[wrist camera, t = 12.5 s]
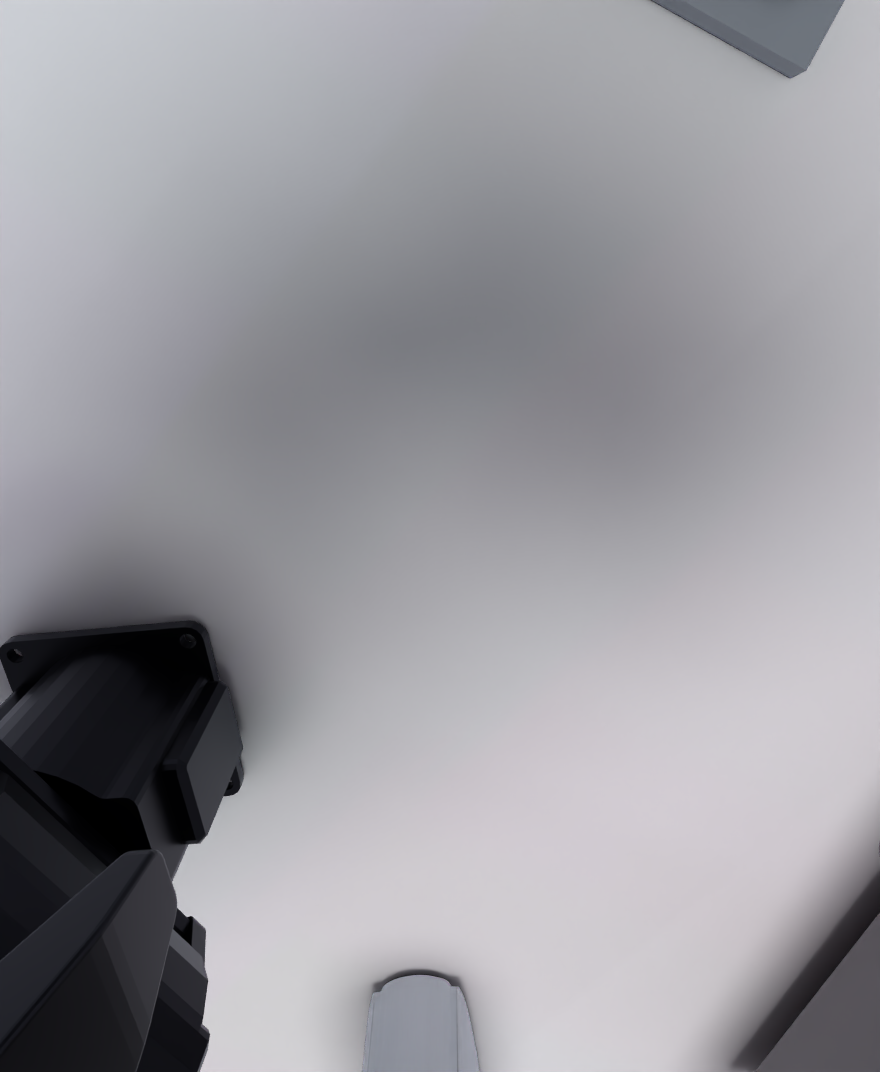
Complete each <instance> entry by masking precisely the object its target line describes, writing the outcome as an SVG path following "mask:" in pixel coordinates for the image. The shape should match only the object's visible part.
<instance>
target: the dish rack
mask: <svg viewBox="0 0 880 1072" xmlns="http://www.w3.org/2000/svg"><path fill="white" fill-rule="evenodd" d="M652 1H654V2H656V3H657V4H659V5H661V6H663V7H665V8H666V9H668V10H670V11H672V12H673V13H675V14H677V15H679V16H681V17H682V18H684V19H686V20H688V21H689V22H691V23H693V24H695V25H697V26H698V27H700V28H702V29H704V30H705V31H707V32H709V33H711V34H713V35H714V36H716V37H718V38H720V39H722V40H723V41H725V42H727V43H729V44H730V45H732V46H734V47H736V48H738V49H739V50H741V51H743V52H745V53H746V54H748V55H750V56H752V57H754V58H755V59H757V60H759V61H761V62H762V63H764V64H766V65H768V66H770V67H771V68H773V69H775V70H777V71H779V72H780V73H782V74H784V75H786V76H787V77H789V78H792V77H794V76H796V75H798V74H800V73H802V72H804V71H806V70H807V68H808V66H809V65H810V63H811V61H812V59H813V57H814V55H815V54H816V52H817V50H818V48H819V46H820V44H821V43H822V41H823V39H824V37H825V35H826V33H827V32H828V30H829V28H830V26H831V24H832V22H833V21H834V19H835V17H836V15H837V13H838V11H839V10H840V8H841V6H842V4H843V2H844V0H652Z"/></svg>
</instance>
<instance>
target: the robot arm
mask: <svg viewBox="0 0 880 1072" xmlns="http://www.w3.org/2000/svg"><path fill="white" fill-rule="evenodd" d="M184 634H190V635H192V636H193V637H194V638H195V640H196V642H190V641H188V640H187V639H186V638H185V636H184ZM14 649H17V650H18V651H20V652H21V653H22V654H23V656H20V655H18V654H17V653H16V652H15V650H14ZM0 660H1V662H2V665H3V668H4V670H5V673H6V675H7V678H8V681H9V683H10V686H11V689H12V691H13V693H12V694H11V695H10V696H9V697H8V698H7V700H6V701H5V702H4V703H3V704H2V705H1V706H0V1072H200V1069H201V1067H202V1064H203V1061H204V1059H205V1056H206V1053H207V1050H208V1044H209V1037H210V1033H209V1030H208V1029H207V1028H206V1027H205V1026H203V1025H202V1020H203V1015H204V1007H205V1000H206V992H207V984H208V978H207V974H206V971H205V967H204V965H205V939H206V930H205V928H204V927H203V926H202V925H201V924H200V923H199V922H198V921H197V920H196V919H194V918H193V917H192V916H190V917H186V916H185V915H184V914H183V913H182V912H181V911H180V910H179V909H178V908H177V898H176V893H175V890H174V887H173V884H172V881H173V878H174V876H175V874H176V872H177V869H178V867H179V865H180V862H181V860H182V858H183V856H184V853H185V851H186V849H187V846H188V844H198V843H201V842H202V840H203V839H204V838H205V837H206V836H207V834H208V832H209V830H210V827H211V825H212V822H213V820H214V817H215V815H216V813H217V810H218V808H219V805H220V803H221V801H222V798H223V796H230V795H234V794H236V793H237V792H238V791H239V789H240V787H241V785H242V782H243V779H244V778H243V771H242V767H241V763H240V759H239V757H240V754H241V752H242V749H243V745H242V741H241V737H240V733H239V729H238V725H237V721H236V717H235V713H234V709H233V705H232V701H231V697H230V693H229V689H228V686H227V685H226V684H224V683H223V682H222V681H221V680H219V676H218V672H217V668H216V664H215V660H214V656H213V652H212V648H211V644H210V640H209V636H208V633H207V631H206V629H205V628H204V627H203V626H202V625H201V624H200V623H197V622H195V621H180V622H169V623H157V624H146V625H134V626H123V627H111V628H100V629H88V630H77V631H65V632H54V633H42V634H31V635H20V636H14V637H11V638H10V639H9V640H8V641H7V642H6V643H5V644H4V645H2V646H1V647H0ZM230 780H232V782H229V781H230ZM879 855H880V843H879Z"/></svg>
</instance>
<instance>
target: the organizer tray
mask: <svg viewBox="0 0 880 1072" xmlns="http://www.w3.org/2000/svg"><path fill="white" fill-rule="evenodd" d="M755 1072H880V913H879V914H878V915H877V917H876V918H875V919H874V920H873V922H872V923H871V924H870V925H869V927H868V928H867V929H866V931H865V932H864V933H863V934H862V936H861V937H860V938H859V940H858V941H857V942H856V943H855V945H854V946H853V947H852V948H851V950H850V951H849V952H848V954H847V955H846V956H845V957H844V959H843V960H842V961H841V962H840V964H839V965H838V966H837V968H836V969H835V970H834V971H833V973H832V974H831V975H830V976H829V978H828V979H827V980H826V982H825V983H824V984H823V985H822V987H821V988H820V989H819V990H818V992H817V993H816V994H815V996H814V997H813V998H812V999H811V1001H810V1002H809V1003H808V1004H807V1006H806V1007H805V1008H804V1010H803V1011H802V1012H801V1013H800V1015H799V1016H798V1017H797V1018H796V1020H795V1021H794V1022H793V1024H792V1025H791V1026H790V1027H789V1029H788V1030H787V1031H786V1032H785V1034H784V1035H783V1036H782V1038H781V1039H780V1040H779V1041H778V1043H777V1044H776V1045H775V1046H774V1048H773V1049H772V1050H771V1052H770V1053H769V1054H768V1055H767V1057H766V1058H765V1059H764V1060H763V1062H762V1063H761V1064H760V1066H759V1067H758V1068H757V1069H756V1071H755Z"/></svg>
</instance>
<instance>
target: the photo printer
mask: <svg viewBox="0 0 880 1072" xmlns="http://www.w3.org/2000/svg"><path fill="white" fill-rule="evenodd" d="M362 1072H480V1070H479V1064H478V1058H477V1052H476V1046H475V1041H474V1036H473V1031H472V1026H471V1021H470V1017H469V1012H468V1008H467V1005H466V1002H465V999H464V996H463V994H462V992H461V990H460V988H459V987H457V986H451V985H450V983H449V982H448V981H447V980H445V979H443V978H439V977H434V976H429V975H412V976H405V977H400V978H397V979H394V980H392V981H390V982H388V983H387V984H385V985H384V986H383V988H382V990H381V991H380V992H374V993H373V996H372V999H371V1003H370V1008H369V1013H368V1020H367V1029H366V1039H365V1049H364V1059H363V1069H362Z"/></svg>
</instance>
